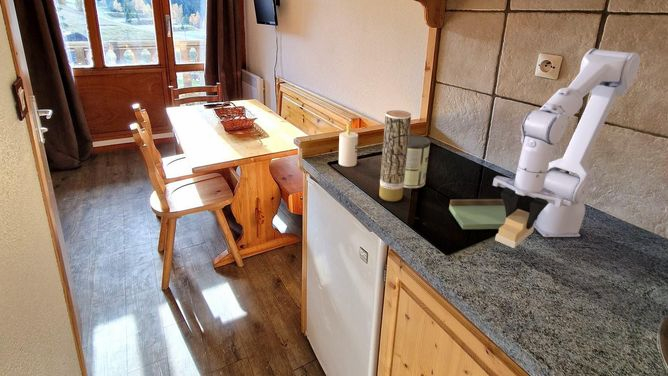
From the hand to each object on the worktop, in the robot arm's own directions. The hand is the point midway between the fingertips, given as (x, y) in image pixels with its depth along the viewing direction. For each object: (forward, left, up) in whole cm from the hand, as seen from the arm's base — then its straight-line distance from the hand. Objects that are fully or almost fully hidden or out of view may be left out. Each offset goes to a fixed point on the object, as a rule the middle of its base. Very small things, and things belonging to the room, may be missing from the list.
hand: (518, 223), depth 91 cm
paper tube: (+23, -28, -8) cm, 37 cm away
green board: (0, -15, -7) cm, 17 cm away
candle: (+33, -55, -8) cm, 65 cm away
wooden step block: (+1, +1, -3) cm, 3 cm away
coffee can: (+15, -39, -8) cm, 43 cm away
